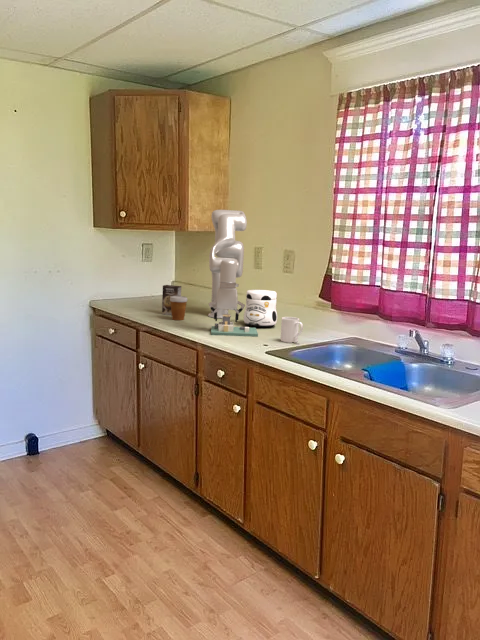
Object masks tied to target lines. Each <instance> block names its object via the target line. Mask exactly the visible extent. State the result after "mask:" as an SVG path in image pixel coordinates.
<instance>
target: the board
mask: <svg viewBox="0 0 480 640" xmlns="http://www.w3.org/2000/svg"><path fill="white" fill-rule="evenodd" d="M210 329H211V330H210V335H211V336H228V337H229V336H230V337H231V336H234V337H255V338H257V337H259V332H258V330H257V327H249V326H234V321H230V325H222V321H218V323H214V325H211V328H210Z"/></svg>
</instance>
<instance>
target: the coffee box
mask: <svg viewBox="0 0 480 640" xmlns="http://www.w3.org/2000/svg"><path fill="white" fill-rule="evenodd" d="M171 296H182V285H172V284H164V285H162V296H161V297H162V299H161V302H162V303H161V305H162V306H161V315H167V316H172V312H171V302H170V297H171Z"/></svg>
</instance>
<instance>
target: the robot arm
mask: <svg viewBox="0 0 480 640" xmlns="http://www.w3.org/2000/svg"><path fill="white" fill-rule="evenodd" d="M247 221H248V220H247V217H246V214H245V212H244V211H242V210H232V209H231V210H230V209H215V210H213V211H212V212H211V222H212V225H213V228H214V233H215V235H214V244H213V245H212V246H211V249H210V250H209V261H208V262H209V263H208V264H209V267H208V268H209V270H210V272H211V301H210V302H209V303H208V306H209V309H210V312H209V313H208V315H207V316H208V317H209V318H213V319H214V320H215V321H214V322H218V319H223V314H229V310H230V311H235V319H234V321H235V322H236V323H237V322H238V321H239V316H240V315H239V314H240V313H241V312H242V311H243V310H244V308H246V304H244V302H241V301H239V300H238V289H237V288H238V287H239V285H240V284H239V283H237V282H236V281H237V279H238V278H240V277H242V276H243V272H244V260H245V259H244V257H245V255H244V254H245V246H244V243H243V242H242V241H240V240H236V232H244V231H246V229H247V226H248V222H247ZM238 305H239V306H240V308H238ZM231 317H232V315H231V314H230V318H231Z"/></svg>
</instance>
